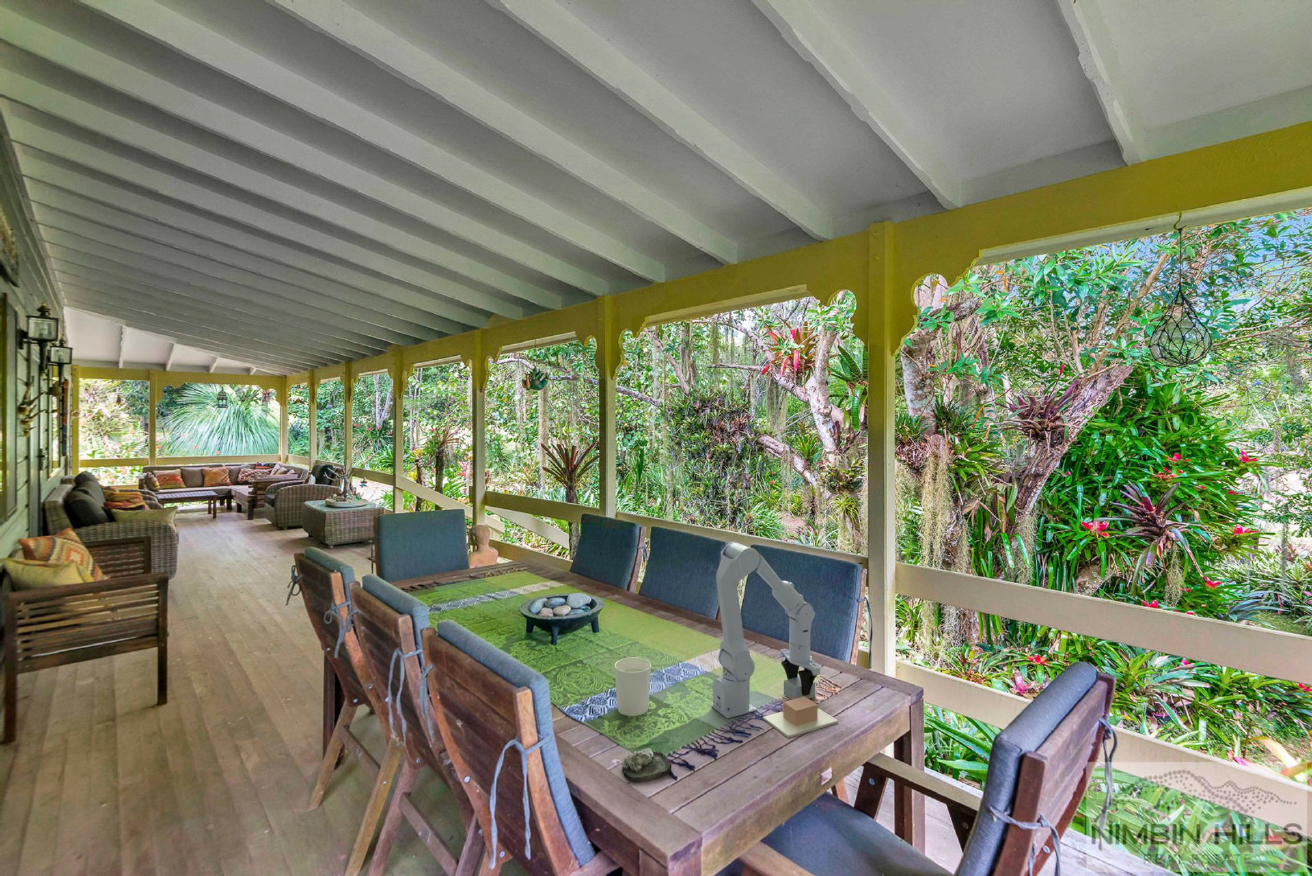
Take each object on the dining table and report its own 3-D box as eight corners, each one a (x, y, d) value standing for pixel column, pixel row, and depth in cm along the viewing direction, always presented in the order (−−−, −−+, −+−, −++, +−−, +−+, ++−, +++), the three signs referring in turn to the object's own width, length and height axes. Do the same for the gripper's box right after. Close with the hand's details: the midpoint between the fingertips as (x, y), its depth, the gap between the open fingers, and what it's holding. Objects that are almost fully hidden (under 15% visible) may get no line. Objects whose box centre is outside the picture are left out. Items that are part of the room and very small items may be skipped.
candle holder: (609, 714, 153) (609, 669, 152) (622, 697, 162) (622, 655, 162) (644, 720, 150) (644, 674, 149) (655, 702, 159) (655, 659, 159)
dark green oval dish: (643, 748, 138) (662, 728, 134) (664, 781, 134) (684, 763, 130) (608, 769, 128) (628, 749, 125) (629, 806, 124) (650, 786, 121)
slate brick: (795, 702, 159) (795, 687, 159) (783, 694, 164) (783, 680, 164) (815, 696, 162) (815, 682, 162) (803, 689, 167) (803, 675, 167)
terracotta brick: (795, 726, 146) (796, 710, 145) (783, 717, 150) (783, 702, 150) (817, 720, 149) (817, 704, 148) (804, 711, 153) (804, 696, 153)
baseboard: (788, 737, 141) (788, 735, 141) (763, 719, 150) (763, 716, 150) (837, 722, 148) (837, 720, 148) (811, 705, 157) (811, 703, 157)
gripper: (828, 649, 158) (828, 698, 158) (794, 632, 171) (793, 677, 171) (808, 653, 155) (808, 704, 155) (774, 635, 168) (774, 682, 168)
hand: (799, 690), depth 163 cm, fingers closed on slate brick, 5 cm apart
